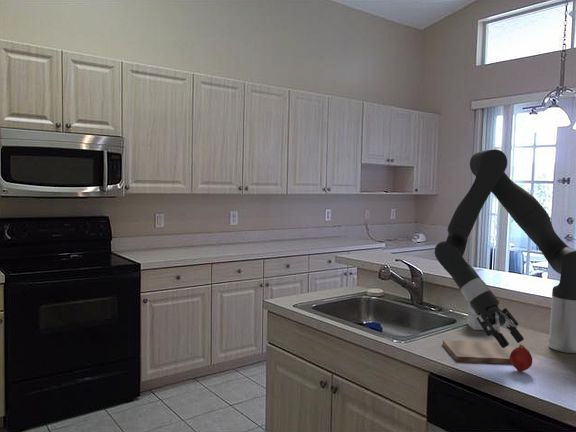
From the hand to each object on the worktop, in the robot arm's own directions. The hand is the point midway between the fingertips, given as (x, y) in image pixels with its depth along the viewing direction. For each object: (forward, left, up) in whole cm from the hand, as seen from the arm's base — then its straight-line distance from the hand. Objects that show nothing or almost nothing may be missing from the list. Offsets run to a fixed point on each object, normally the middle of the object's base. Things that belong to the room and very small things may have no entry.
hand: (513, 343), depth 138 cm
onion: (-2, +2, -8) cm, 8 cm away
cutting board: (+5, -12, -7) cm, 15 cm away
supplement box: (-6, -41, -8) cm, 42 cm away
